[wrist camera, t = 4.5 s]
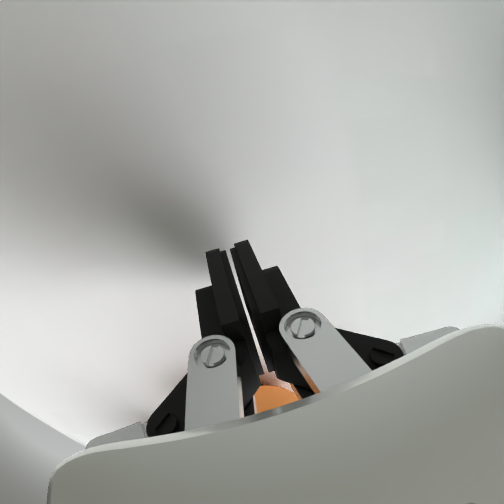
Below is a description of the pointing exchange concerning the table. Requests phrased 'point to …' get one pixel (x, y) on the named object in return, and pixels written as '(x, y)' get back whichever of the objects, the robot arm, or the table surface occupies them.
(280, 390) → the ball
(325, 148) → the table surface
